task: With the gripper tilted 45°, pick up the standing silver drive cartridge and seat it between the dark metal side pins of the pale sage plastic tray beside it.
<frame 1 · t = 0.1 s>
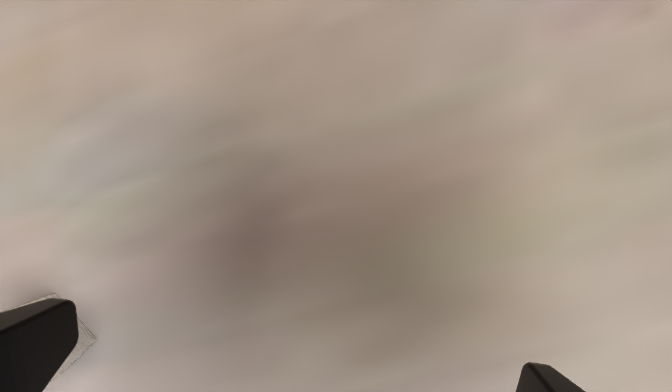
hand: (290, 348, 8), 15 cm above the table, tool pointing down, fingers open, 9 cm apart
drive cartridge: (57, 334, 24), on the table
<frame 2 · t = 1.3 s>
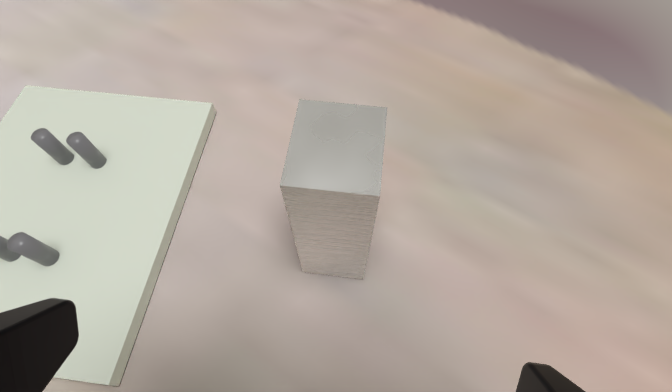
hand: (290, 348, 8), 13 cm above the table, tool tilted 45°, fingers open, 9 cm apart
pin tray: (68, 212, 24), on the table
drive cartridge: (337, 243, 23), on the table
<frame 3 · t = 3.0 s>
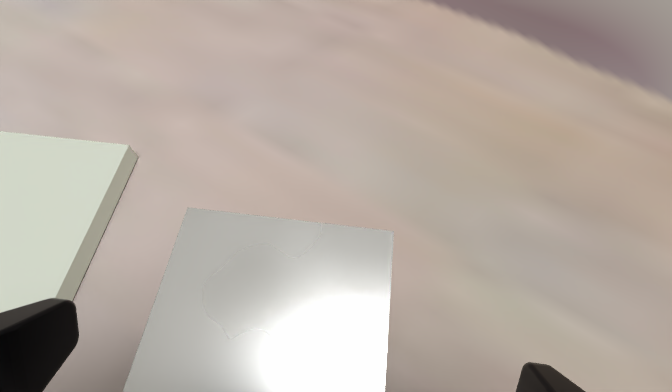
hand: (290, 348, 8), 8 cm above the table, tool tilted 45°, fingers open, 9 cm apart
drive cartridge: (307, 384, 14), on the table
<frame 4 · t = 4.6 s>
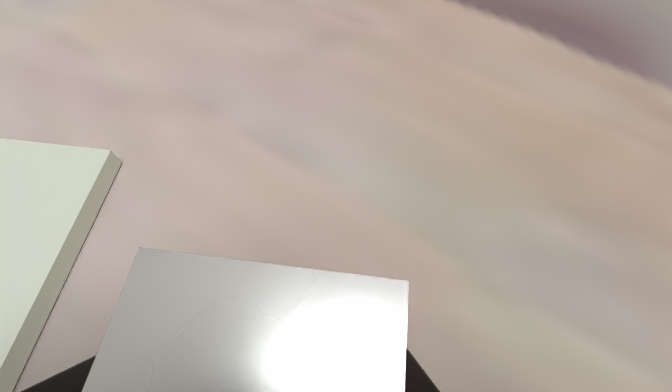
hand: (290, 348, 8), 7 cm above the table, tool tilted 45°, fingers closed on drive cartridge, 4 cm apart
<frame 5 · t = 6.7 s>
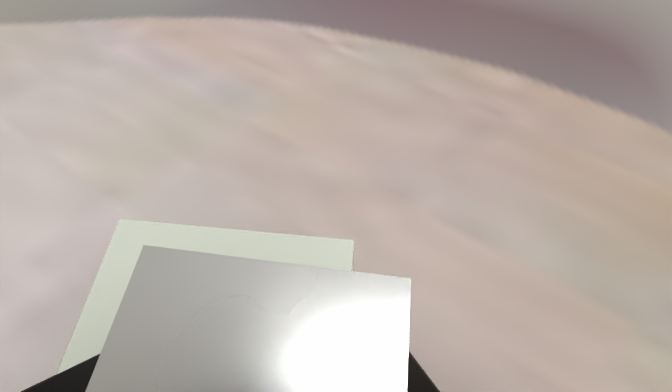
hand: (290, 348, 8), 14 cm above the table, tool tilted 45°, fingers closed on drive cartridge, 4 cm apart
when the fingers open (8 cm above the table, at t = 9.1 s): drive cartridge stays where it is, resting on pin tray.
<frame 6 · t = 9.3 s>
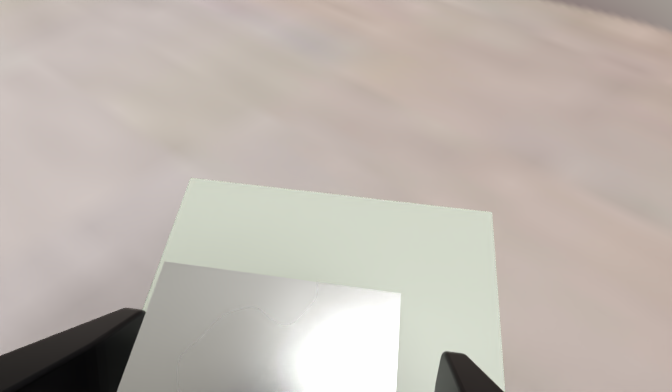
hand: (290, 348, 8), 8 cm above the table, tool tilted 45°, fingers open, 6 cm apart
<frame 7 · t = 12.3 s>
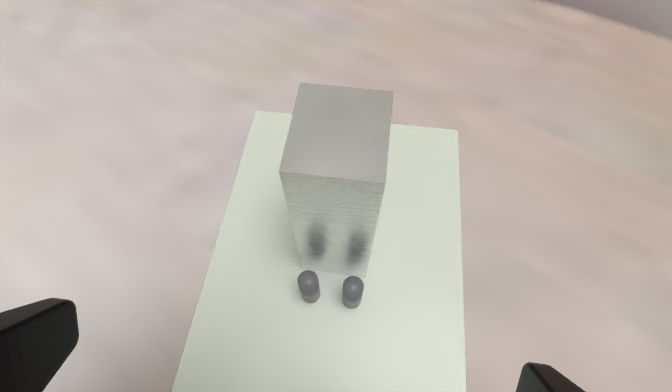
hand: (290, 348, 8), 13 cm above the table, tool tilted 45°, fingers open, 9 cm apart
pin tray: (338, 246, 23), on the table
drive cartridge: (338, 239, 22), point 1 cm above the table, touching pin tray
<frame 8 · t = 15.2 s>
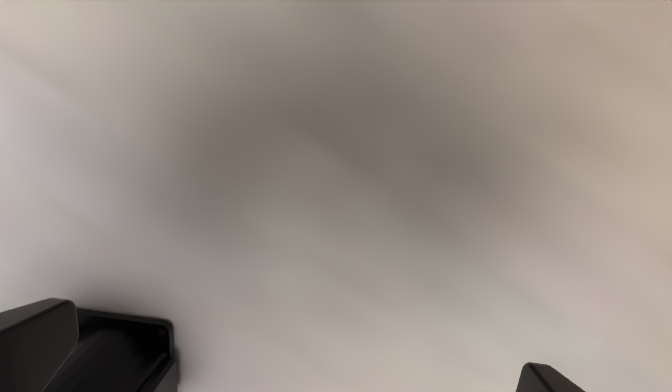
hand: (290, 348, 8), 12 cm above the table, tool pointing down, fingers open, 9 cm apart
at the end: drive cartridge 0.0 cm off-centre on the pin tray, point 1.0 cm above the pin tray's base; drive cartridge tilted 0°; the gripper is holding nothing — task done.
